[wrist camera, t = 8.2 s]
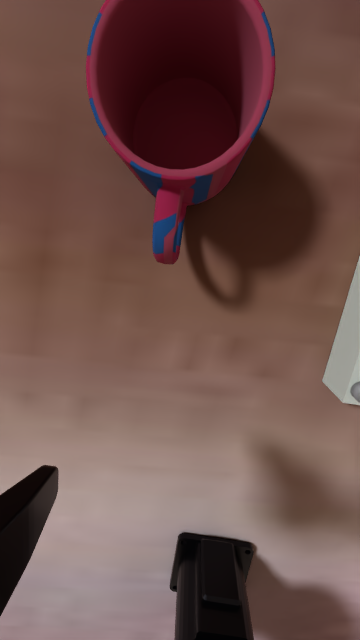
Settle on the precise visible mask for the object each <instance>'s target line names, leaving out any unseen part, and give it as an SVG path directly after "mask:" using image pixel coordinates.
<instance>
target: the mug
mask: <svg viewBox="0 0 360 640" xmlns="http://www.w3.org/2000/svg"><path fill="white" fill-rule="evenodd" d="M274 77H275V49H274V43H273V38H272V33H271V28H270V26H269V23H268V20H267V18H266V15H265V12H264V10H263V8H262V6H261V4H260V3H259V1H258V0H106V1H105V3H104V4H103V6H102V7H101V9H100V11H99V14H98V16H97V18H96V21H95V23H94V26H93V28H92V32H91V36H90V40H89V44H88V51H87V61H86V79H87V89H88V95H89V100H90V105H91V108H92V110H93V113H94V116H95V119H96V122H97V124H98V126H99V128H100V129H101V131H102V133H103V135H104V137H105V138H106V140H107V141H108V142H109V144H110V145H111V146H112V148H113V149H114V150H115V152H116V153H117V154H118V155H119V157H120V158H121V159H122V160H123V162H124V163H125V164H126V165H127V166H128V168H129V169H130V170H131V171H132V173H133V174H134V175H135V176H136V177H137V179H138V180H139V181H140V182H141V184H142V185H143V186H144V187H145V188H146V189H147V190H148V191H149V192H150V193H151V194H152V195H154V196H155V197H156V203H155V213H154V224H153V254H154V257H155V259H156V261H157V262H160V263H163V264H174V263H175V262H176V261H177V259H178V256H179V252H180V245H181V238H182V231H183V225H184V219H185V214H186V208H187V206H189V205H196V204H199V203H202V202H205V201H207V200H209V199H210V198H212V197H214V196H215V195H217V194H218V193H219V192H220V191H221V190H223V188H224V187H225V186H226V185H227V184H228V183H229V181H230V180H231V178H232V176H233V175H234V173H235V171H236V170H237V168H238V166H239V164H240V162H241V160H242V159H243V157H244V155H245V153H246V151H247V150H248V148H249V146H250V144H251V142H252V141H253V139H254V137H255V135H256V133H257V131H258V130H259V128H260V126H261V124H262V122H263V119H264V117H265V114H266V112H267V110H268V107H269V103H270V99H271V96H272V92H273V87H274Z"/></svg>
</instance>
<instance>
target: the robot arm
mask: <svg viewBox="0 0 360 640" xmlns="http://www.w3.org/2000/svg"><path fill="white" fill-rule="evenodd" d="M57 492H58V468H57V467H55V466H48V465H43V466H41V467H40V468H38V469H37V470H35V471H34V472H33V473H31V474H30V475H28V476H27V477H25V478H24V479H23V480H21V481H20V482H18V483H17V484H15V485H14V486H13V487H11V488H10V489H8V490H7V491H5V492H4V493H3V494H1V495H0V616H1V614H2V612H3V610H4V608H5V607H6V605H7V603H8V601H9V599H10V597H11V595H12V593H13V591H14V589H15V588H16V586H17V584H18V582H19V580H20V578H21V576H22V574H23V572H24V570H25V568H26V566H27V564H28V562H29V560H30V558H31V556H32V553H33V551H34V549H35V546H36V544H37V542H38V539H39V537H40V535H41V532H42V530H43V527H44V525H45V523H46V520H47V518H48V516H49V513H50V511H51V508H52V506H53V504H54V501H55V499H56V496H57ZM252 557H253V546H252V545H251V544H250V543H245V542H238V541H232V540H225V539H219V538H212V537H205V536H199V535H192V534H186V533H182V534H180V535H179V536H178V540H177V546H176V551H175V557H174V563H173V568H172V574H171V580H170V589H171V590H172V591H175V592H177V600H176V620H175V640H254V637H253V631H252V624H251V618H250V611H249V605H248V598H247V592H246V585H245V582H246V578H247V575H248V571H249V567H250V564H251V560H252Z"/></svg>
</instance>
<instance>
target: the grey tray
mask: <svg viewBox="0 0 360 640" xmlns="http://www.w3.org/2000/svg"><path fill="white" fill-rule="evenodd" d="M322 382H323V383H324V384H325V385H326V386H327V387H328V388H329V389H330V390H331V391H332V392H333V393H334V394H335V395H336V396H337V397H338V398H339V399H340V400H341V401H342V402H343V403H349V404H355V405H360V257H359V260H358V263H357V267H356V270H355V273H354V277H353V280H352V283H351V287H350V290H349V293H348V297H347V300H346V303H345V307H344V310H343V314H342V317H341V320H340V324H339V327H338V330H337V334H336V337H335V340H334V344H333V347H332V350H331V354H330V357H329V360H328V364H327V367H326V370H325V374H324V377H323V380H322Z"/></svg>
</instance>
